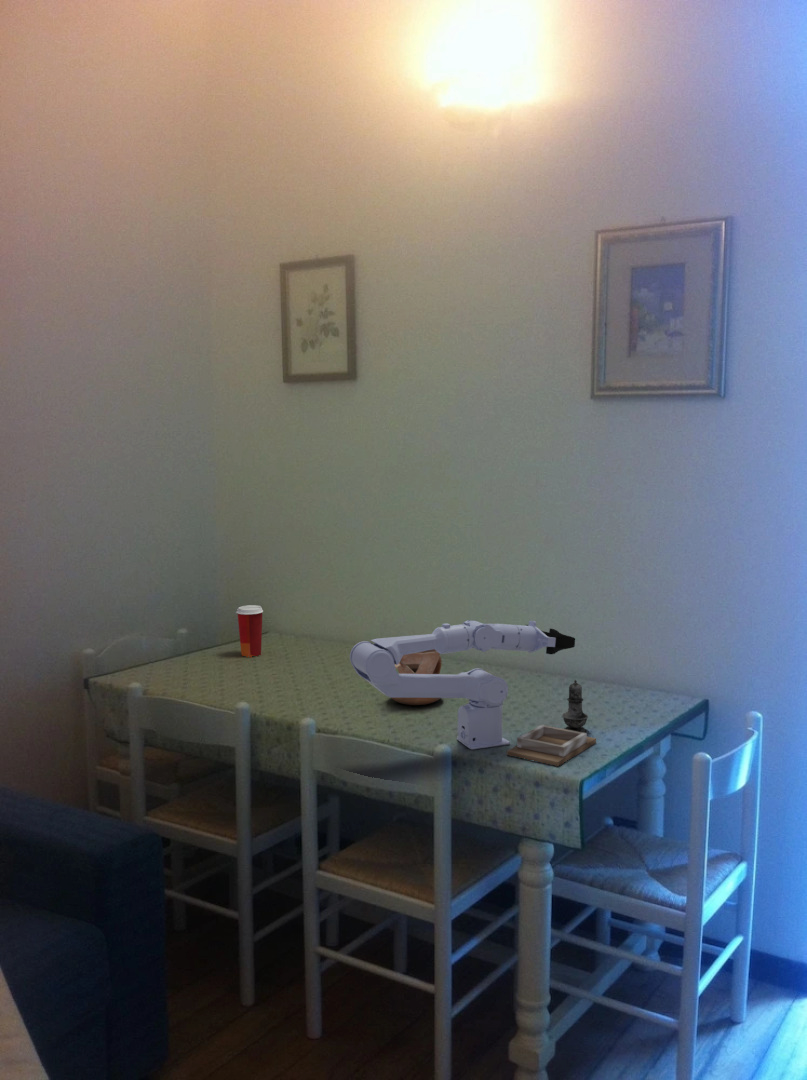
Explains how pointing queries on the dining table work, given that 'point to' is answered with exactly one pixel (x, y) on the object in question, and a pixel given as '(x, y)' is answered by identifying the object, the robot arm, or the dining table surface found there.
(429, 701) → the ceramic jug
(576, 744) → the board
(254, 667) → the dining table surface
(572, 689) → the salt shaker
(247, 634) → the coffee cup
